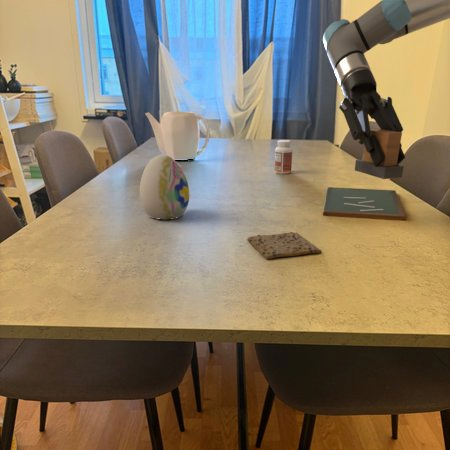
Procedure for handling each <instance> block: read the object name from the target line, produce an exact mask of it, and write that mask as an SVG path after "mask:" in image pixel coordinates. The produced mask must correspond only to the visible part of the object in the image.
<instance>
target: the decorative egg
mask: <svg viewBox="0 0 450 450" xmlns="http://www.w3.org/2000/svg"><path fill="white" fill-rule="evenodd" d="M139 197H140V202H141V204H142V207H143V210H144V211H145V213H146V214H147V215H148V216H149V217H150V216H151V217H150V218H152V217H154V218H160V219H171V218H176V217H179V218H181V217H182V216H184V214H185V212H186V210H187V208H188V205H189V202H190V187H189V182H188V178H187V176H186V174H185V172H184V170H183V168H182V167H181V165H180V164H179V163H178V161H175V160H174V159H173V158H171V157H170V156H167V154H158V155H155V156H154V157H152V158H151V159H150V160H149V161H148V163H147V165H146V166H145V167H144V170H143V172H142V174H141V178H140V183H139ZM180 216H181V217H180ZM154 218H153V219H154ZM176 219H177V218H176ZM171 220H172V219H171Z"/></svg>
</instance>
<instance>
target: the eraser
mask: <svg viewBox="0 0 450 450" xmlns="http://www.w3.org/2000/svg"><path fill="white" fill-rule="evenodd" d="M370 131H371V135H375V137H376V139H377V142H378V144H379V147H380V149H381V152H382V154H383V156H384V160H383V162H382V163H381V164H380V165H379V166H378V167H375V166H374V163H373V161H372V158H371V156H370V153H368V152H367V151H366V148H365V146H363V152H362V158H361V159H355V164H354V171H355V172H359V173H362V174H365V175H369V176H372V177H375V178H377V179H378V178H379V179H382V180H389V179H401V178H403V173H404V168H405V166H404V165H402V164H401V165H400V164H398V165H397V160H398V154H399V148H400V142H401V141H402V136H403V131H402V132H395V131H389V130H382V129H380V128H372V129H371V128H370ZM371 135H370V137H371ZM401 143H402V142H401Z"/></svg>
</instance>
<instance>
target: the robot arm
mask: <svg viewBox="0 0 450 450" xmlns="http://www.w3.org/2000/svg"><path fill="white" fill-rule="evenodd" d="M448 19H450V0H380V1H379V2H378V3H376V4H375V5H374V6H373V7H371V8H370V9H368V10H367V11H365V12H364V13H363V14H362V15H360V16H359V17H358V18H357V19H354V20H352V21H349V20H348V19H345V18H341V19H339V20H335V21H333V22H332V23H331V24H330V25H329V26H327V28H326V29H325V31H324V33H323V37H322V42H323V46H324V49H325V53H326V55H327V57H328V60H329V63H330V64H331V68H332V69H333V72H334V74H335V77H336V79H337V82H338V84H339V86H340V88H341V92H342V94H343V97H344V98H343V99H342V101H341V103H340V104H339V106H338V108H339V110H340V111H341V113H342V114H343V116H344V119H345V121H346V124H347V126H348V129H349V131H350V134H351V137H352V139H353V140H354V141H358V140H359V141H358V143H359V145H364V146H365V148H366V151H367V152H368V153H370V156H371V158H372V161H373V163H374V166H375V167H378V166H379V165H380V164H381V163H382V162H383V160H384V156H383V154H382V152H381V149H380V147H379V144H378V142H377V139H376V137H375V135H371V131H370V129H371V126H370V119H371V120H374V121H375V123H376V124H377V126H378V127H379V129H382V130H389V131H395V132H402V133H403V131H404V128H403V125H402V124H401V123H402V122H401V121H400V119H399V116H398V115H397V112H396V110H395V108H394V105H393V99H392V97H391V96H387V97H386V98H384V97H381V95H380V93H379V92H378V91H377V85H378V84H377V81H376V79H375V76H374V74H373V72H372V69H371V67H370V64H369V62H368V59H367V57H366V56H365V54H366V53H367V52H369V51H370V50H371V49H373V48H374V47H376V46H378V45H386V44H389V43H392V42H393V41H394V40H396V39H399V38H401V37H404V36H406V35H408V34H412V33H414V32H416V31H419V30H423V29H424V28H428V27H431V26H433V25H436V24H438V23H440V22H443V21H446V20H448ZM369 117H370V119H369ZM370 135H371V137H370ZM364 146H363V147H364ZM402 146H403V145H402V142H400V148H399V154H398V160H397V165H400V164H401V163H402V162H403V161H404V160H405V159H406V156H405V153H404V151H403V148H402Z"/></svg>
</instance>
